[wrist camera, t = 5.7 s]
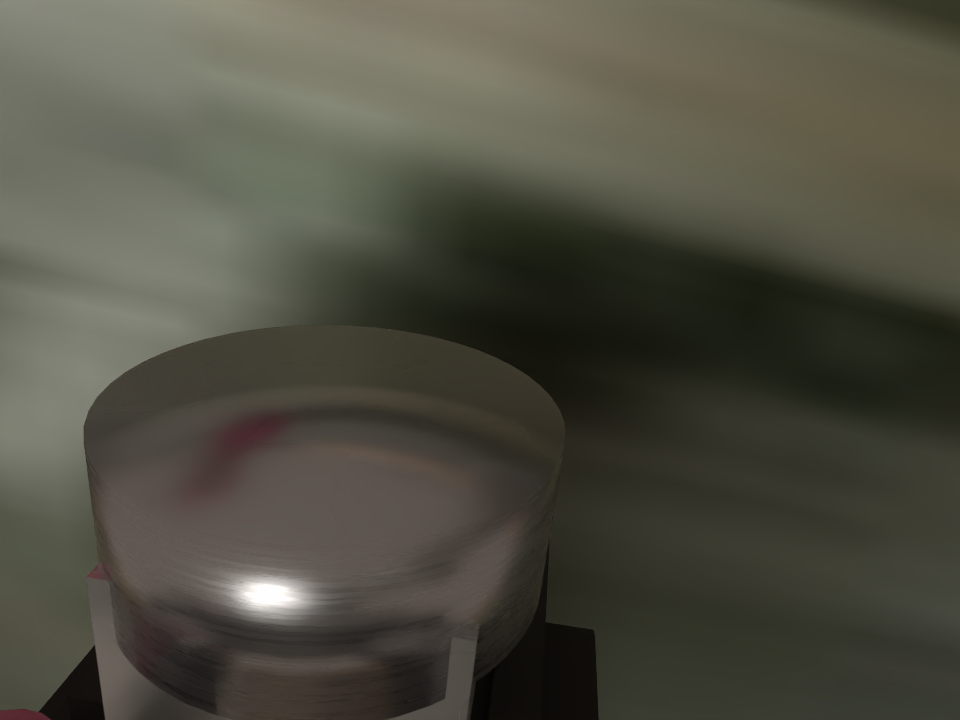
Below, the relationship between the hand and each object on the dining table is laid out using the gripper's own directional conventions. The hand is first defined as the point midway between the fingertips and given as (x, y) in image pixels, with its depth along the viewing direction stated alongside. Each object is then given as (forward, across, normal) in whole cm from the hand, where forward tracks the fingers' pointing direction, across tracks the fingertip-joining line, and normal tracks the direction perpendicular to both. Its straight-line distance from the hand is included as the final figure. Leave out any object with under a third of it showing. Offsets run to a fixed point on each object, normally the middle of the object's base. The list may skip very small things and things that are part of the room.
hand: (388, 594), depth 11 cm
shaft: (-1, 0, +8) cm, 8 cm away
